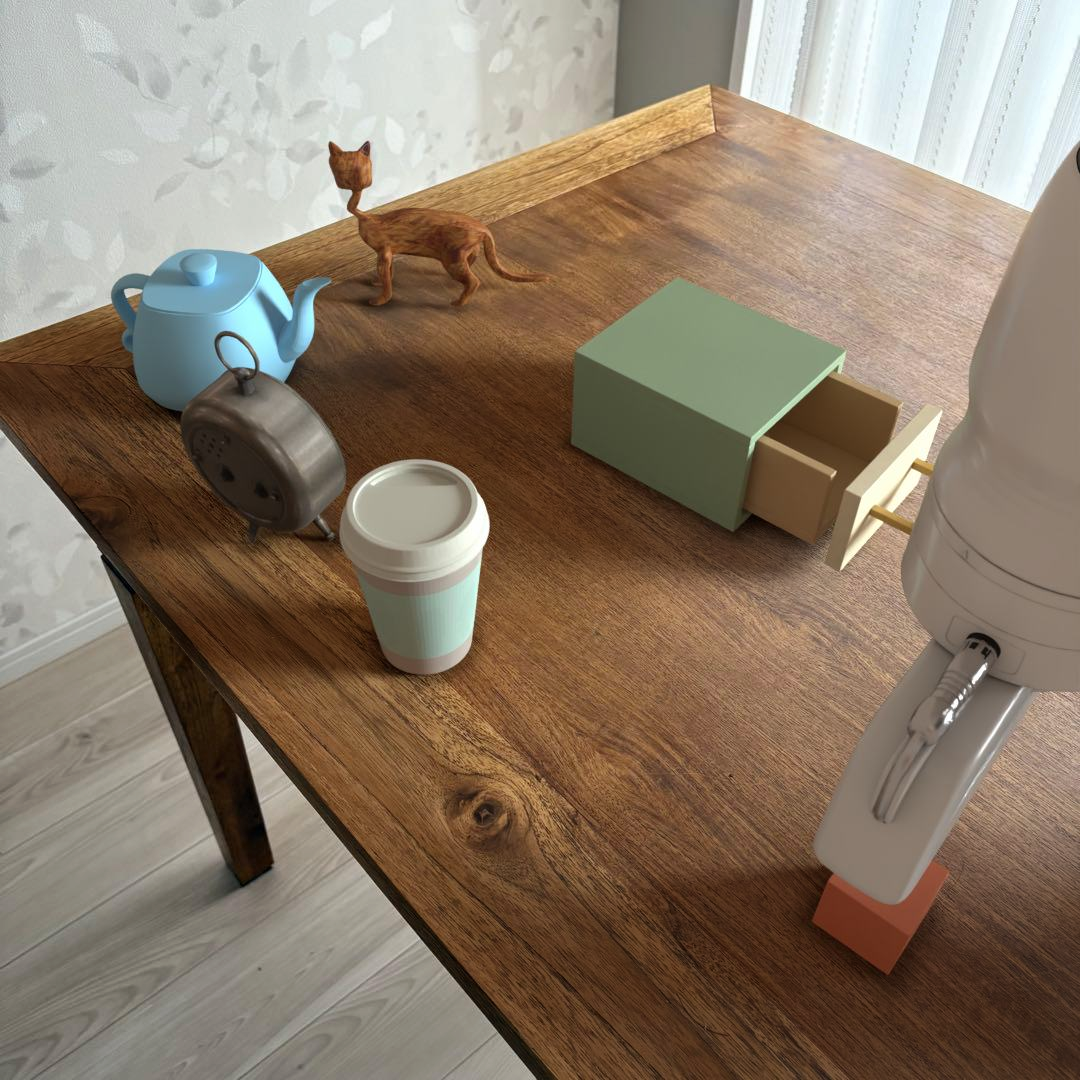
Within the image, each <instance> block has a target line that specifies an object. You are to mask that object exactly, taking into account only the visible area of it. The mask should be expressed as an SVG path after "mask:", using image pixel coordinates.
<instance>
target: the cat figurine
mask: <svg viewBox="0 0 1080 1080" xmlns="http://www.w3.org/2000/svg"><path fill="white" fill-rule="evenodd" d="M327 147H328V152H329V157H328V165H329V169H330V170H331V173H332V175H333V179H334V182H335V185H336V187H337V188H338V189H341V190H347V191H351V196H350V197H349V199H348V201H347V203H346V210H347V212H348V213H349V214H352V215H353V216H355V217H356V218H357V222H358V228H357V229H358V234H359V236H360V238H361V240H362V241H363V242H364V243H365V244H366V245H367V246H368V247H369V248H371V249H372V250H373V251H374V252H375V253H376V269H377V274H378V277H375V278H374V277H373V278H372V279H371V284H372V285H373V286H374V287H381V286H382V288H381V291H380V293H379V295H378V297H376V298H372V299H370V300H369V301H368V303H369V305H370V306H374V307H379V306H382V305H384V304H386V303H387V302H389V301H390V300H391V298H392V295H393V283H392V280H393V278H394V271H395V270H394V258H393V256H394V255H395V256H396V255H404V256H411V257H412V256H413V257H421V258H427V259H434V260H436V261H439V262H440V263H441V264H442V266H443V267H442V268H443V269H444V270H445V272H446V273H447V274H448V275H449V276H450V277H451V278H452V279H453V280H454V281H457V282H458V283H460V284H461V285H463V290H462V291H461V294H460V296H459V299H456V300H452V301H451V302H450V303H449V304H450V306H455V307H456V306H457V307H460V306H462V307H463V306H465V305H467V303H468V301H470V299H471V297H473V295H474V294H475V293H476V291H477V290H478V289H479V287H480V284H481V280H480V278H478V277H477V276H476V275H475V274H474V272H473V271H472V270H471V267H472V265H474V263H475V262H476V260H477V258H478V256H479V254H480V249H481V247H480V244H481V243H483V255H484V257H485V260H486V262H487V264H488V266H489V268H490V269H491V270H492V272H494V273H495V274H496V276H498V277H500V278H501V279H504V280H506V281H509V282H515V283H544V282H545V283H546V282H549V281H550V280H551V278H550V276H549V275H548V274H543V273H520V272H516V271H513V270H511V269H508V268H507V267H505V266H503V264H502V263H501V262H500V260H499V258H498V255H497V253H496V247H495V246H496V244H495V239H494V236H493V234H492V232H491V231H490V229H489V228H488V227H487V226H486V225H485V224H484V223H483V222H481V221H480V220H479V219H477V218H475V217H473V216H472V215H470V214H467V213H464V212H460V211H455V210H454V211H453V210H443V209H433V208H423V207H403V208H397V209H393V210H392V211H389V212H386V213H382V214H378V213H368V212H366V211H362V210H361V209H359V208H358V206H359V204H360V201H361V198H362V193H363V191H364V190H365V189H368V188H370V187H371V186H372V184H373V173H372V172H373V171H372V170H373V164H372V160H371V143H370V140H366V141H365V142H364V143H363V144H362V145H361V146H360V147H359V148H358V149H357V150H347V151H345V150H342V148H341V147H340V146H339V145H337V144H336V143H335V142H333V141H331V140H330V141H328V144H327Z"/></svg>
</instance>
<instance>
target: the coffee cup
mask: <svg viewBox="0 0 1080 1080" xmlns="http://www.w3.org/2000/svg"><path fill="white" fill-rule="evenodd" d="M490 526H491V524H490V516H489V514H488V511H487V506H486V503H485V501H484V499H483V498H482V497H481V494H480V493H479V492H478V491H477V488H476V485H475V484H474V483H473V482H472V480H471V479H470V477H468V476H467V475H466V474H465V473H464V472H462V471H461V470H459V469H458V468H456V467H454V466H452V465H450V464H446V463H444V462H441V461H436V460H431V459H423V458H422V459H419V458H418V459H417V458H415V459H412V458H411V459H403V460H397V461H393V462H389V463H387V464H383V465H381V466H379V467H376V468H374V469H372V470H371V471H368V473H366V474H365V475H363V476H362V477H361V478H360V479H358V480H357V482H356V483H354V485H353V486H352V488H351V489H350V491H349V494H348V496H347V498H346V502H345V505H344V507H343V509H342V512H341V516H340V521H339V541H340V544H341V547H342V550H343V552H344V554H345V556H347V558H348V559H349V560H350V561H351V562H352V565H353V568H354V571H355V575H356V577H357V580H358V583H359V586H360V589H361V593H362V595H363V598H364V601H365V604H366V607H367V610H368V613H369V616H370V619H371V622H372V625H373V628H374V632H375V634H376V636H377V640H378V642H379V646H380V649H381V651H382V653H383V656H384V657H385V659H386V660H387V661H388V662H389V663H390V664H391V665H392V666H393V667H395V668H396V669H399V670H400V671H403V672H405V673H409V674H413V675H422V676H423V675H424V676H425V675H427V676H428V675H432V674H433V675H434V674H439V673H443V672H445V671H448V670H450V669H451V668H453V667H455V666H456V665H458V664H459V663H460V662H461V661H463V660H464V658H465V657H466V656H467V654H468V652H469V651H470V649H471V645H472V643H473V634H474V625H475V618H476V609H477V601H478V592H479V584H480V583H479V582H480V574H481V567H482V559H483V551H484V550H483V548H484V547H485V545H486V543H487V540H488V537H489V534H490Z"/></svg>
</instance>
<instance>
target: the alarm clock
mask: <svg viewBox="0 0 1080 1080" xmlns="http://www.w3.org/2000/svg"><path fill="white" fill-rule="evenodd" d="M224 336H230V337H233V338H236V339H238V340H239V341H240V342H241V343H242V344H243V345H244V346H245V347H246V348H247V349H248V350H249V352H250V354H251V355H252V357H253V359H254V362H255V369H252V368H246V367H236V368H232V367H231V366H230V365H229V364H228V362H227V361H226V360H225V358H224V357H223V355H222V353H221V351H220V347H219V342H220V340H221V338H222V337H224ZM214 345H215V350H216V353H217V355H218V358H219V359H220V361H221V362H222V363H223V364H224V366H225V367H226V368H227V369H228V370H227V371H225V372H224V373H223V374H222V375H221V376H220V377H219V378H218V379H217V380H215V381H214V382H213V383H212V384H210V385H209V386H208V387H207V388H205V389H204V390H203V391H202V392H200V393H199V394H198V395H197V396H196V397H194V398H193V399H192V400H191V401H190V402H189V403H188V404H187V405H186V406H185V408H184V410H183V412H182V413H181V417H180V435H181V439H182V443H183V446H184V449H185V451H186V453H187V455H188V458H189V459H190V462H191V464H192V465H193V466H194V469H195V470H196V472H197V473H198V475H199V476H200V478H201V479H202V480H203V481H204V483H205V484H206V485H207V486H208V488H209V489H211V491H212V492H213V493H214V494H215V495H216V496H217V497H218V498H219V499H220V500H221V501H222V502H223V503H224V504H225V505H226V506H227V507H229V508H230V509H231V510H233V511H234V512H236V513H237V514H238V515H239V516H241V517H243V518H244V519H245V520H246V521H247V522H248V534H247V536H248V537H247V538H248V542H250V543H251V544H254V543H255V542H256V541H257V537H258V531H259V528H263V529H266V530H270V531H273V532H277V533H293V532H294V533H295V532H298V531H300V530H304V529H305V528H307V527H308V526H309V525H311V523H313V524H314V526H315V527H316V528H317V529H318V530H319V531H321V532H322V533H323V534H324V538H325V540H327V541H328V542H330V541H333V540H334V538H335V537H336V536H335V533H334V532H332V531H331V529H330V527H329V524H328V523H327V521H326V520H325V519H324V518H323V516H322V515H321V513H322V512H323V511H324V510H325V509H326V508H328V507H329V506H330V504H332V503H333V501H334V500H336V499H337V498H338V497H339V496H340V495H341V494H342V492H343V491H344V489H345V485H346V481H347V470H346V464H345V459H344V456H343V453H342V450H341V448H340V446H339V444H338V442H337V440H336V438H335V436H334V435H333V433H332V431H331V430H330V428H329V427H328V425H327V424H326V422H325V421H324V420H323V418H322V417H321V416H320V414H319V413H318V412H317V410H315V409H314V408H313V406H312V405H311V404H310V403H308V401H307V400H306V399H305V398H303V397H302V396H301V395H300V394H299V393H298V392H297V391H296V390H295V389H294V388H292V387H291V386H289V385H288V384H287V383H285V382H284V383H283V382H282V381H280V380H279V379H277V378H275V377H273V376H271V375H269V374H267V373H265V372H262V371H259V370H260V369H259V365H260V362H259V359H258V356H257V354H256V352H255V350H254V349H253V347H252V346H251V345H250V343H249V342H248V341H247V340H246V339H245V338H243V337H242V336H240V335H239V334H237V333H235V332H232V331H222V332H220V333H219V334H218V335H217V336H216V337H215V340H214Z"/></svg>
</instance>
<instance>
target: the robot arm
mask: <svg viewBox="0 0 1080 1080" xmlns="http://www.w3.org/2000/svg"><path fill="white" fill-rule="evenodd" d="M968 370H969V372H968V405H967V409H966V412H965V414H964V416H963V418H962V419H961V421H959V423H958V424H957V426H956V427H955V428H954V429H952V431H951V432H950V434H949V436H948V437H947V438H946V439H945V440H944V443H943V444H942V446H941V447H940V450H939V452H938V454H937V457H936V459H935V462H934V464H933V465H934V468H933V471H932V474H931V477H929V480H928V482H927V485H926V488H925V491H924V494H923V497H922V500H921V502H920V505H919V508H918V511H917V513H916V517H915V519H914V522H913V523H914V525H913V528H912V531H911V534H910V535H908V536H909V537H908V540H907V542H906V545H905V548H904V551H903V554H902V558H901V563H900V579H901V580H900V581H901V585H902V591H903V593H904V596H905V599H906V601H907V603H908V606H909V608H910V609H911V611H912V613H913V614H914V616H915V618H916V619H917V621H918V622H919V624H920V625H921V626H922V627H923V628H924V631H926V632H927V633H928V634H929V636H931V637H932V638H931V639H930V641H928V643H927V644H926V646H925V647H924V648H923V649H922V651H921V652H920V653H919V655H918V656H917V658H915V660H914V661H913V663H912V664H911V665H910V667H909V668H908V670H907V671H905V673H904V674H903V676H902V677H901V678H900V680H899V681H898V683H897V684H896V686H895V687H894V688H893V689H892V690H891V692H890V693H889V695H888V696H887V697H886V699H885V700H884V701H883V703H882V704H881V705H880V706H879V708H878V709H877V711H876V712H875V714H874V715H873V716H872V718H871V719H870V721H869V723H868V724H867V726H866V727H865V729H864V731H863V732H862V734H861V736H860V738H859V740H858V741H857V743H856V745H855V746H854V748H853V750H852V751H851V754H850V755H849V758H848V760H847V762H846V765H845V766H844V768H843V771H842V772H841V775H840V777H839V780H838V782H837V785H836V786H835V789H834V790H833V793H832V795H831V797H830V800H829V802H828V803H827V804H828V805H827V807H826V809H825V812H824V813H823V816H822V819H821V821H820V823H819V825H818V828H817V830H816V833H815V835H814V838H813V842H812V843H813V844H812V851H813V853H814V855H815V857H816V858H817V859H818V861H819V862H820V863H821V864H822V865H823V866H825V868H827V869H828V870H829V871H831V872H832V874H833V873H835V874H836V875H837V876H839V877H840V878H841V879H843V880H844V881H846V882H847V883H849V884H850V885H852V886H853V887H855V888H856V889H858V890H859V891H861V892H863V893H864V894H866V895H868V896H869V897H871V898H873V899H875V900H877V901H879V902H881V903H884V904H887V905H895V904H898V903H900V902H902V901H903V900H905V899H906V898H907V897H908V895H909V894H910V893H911V892H912V890H913V889H914V887H915V886H916V884H917V883H918V881H919V880H920V878H921V877H922V875H923V873H924V872H925V870H926V869H927V867H928V866H929V864H930V863H931V861H932V860H933V859H934V858H935V857H936V855H937V853H938V852H939V850H940V848H941V847H942V845H943V844H944V842H945V841H946V839H947V838H948V836H949V835H950V833H951V832H952V830H953V828H954V826H956V824H957V822H958V821H959V820H960V817H961V816H962V814H963V813H964V811H965V810H966V808H967V806H968V804H969V803H970V801H972V799H973V797H974V796H975V794H976V793H977V791H978V789H979V788H980V786H981V784H982V783H983V782H984V780H985V778H986V776H987V775H988V773H989V772H990V770H991V769H992V767H993V766H994V764H995V762H996V761H997V759H998V758H999V756H1000V755H1001V753H1002V752H1003V750H1004V749H1005V747H1006V745H1007V744H1008V743H1009V741H1010V739H1011V738H1012V736H1013V734H1014V733H1015V732H1016V730H1017V728H1018V726H1019V725H1020V723H1021V722H1022V721H1023V719H1024V717H1025V716H1026V715H1027V713H1028V711H1029V709H1030V708H1031V706H1032V705H1033V703H1034V702H1035V700H1036V699H1037V697H1038V696H1039V694H1040V693H1050V692H1051V693H1052V692H1058V693H1061V692H1062V693H1074V692H1075V693H1076V692H1080V139H1078V141H1077V142H1076V143H1075V144H1074V145H1073V147H1072V148H1071V149H1070V151H1069V152H1068V153H1067V155H1066V156H1065V157H1064V158H1063V160H1062V161H1061V162H1060V164H1059V166H1058V167H1057V168H1056V170H1055V172H1054V173H1053V175H1052V177H1051V178H1050V179H1049V181H1048V183H1047V184H1046V186H1045V188H1044V190H1043V191H1042V193H1041V195H1040V197H1039V198H1038V200H1037V201H1036V204H1035V206H1034V208H1033V209H1032V211H1031V213H1030V215H1029V217H1028V220H1027V221H1026V223H1025V225H1024V227H1023V230H1022V231H1021V233H1020V236H1019V239H1018V241H1017V242H1016V245H1015V247H1014V249H1013V251H1012V254H1011V256H1010V257H1009V260H1008V263H1007V265H1006V267H1005V270H1004V273H1003V275H1002V277H1001V279H1000V282H999V284H998V287H997V289H996V291H995V294H994V296H993V299H992V302H991V304H990V307H989V310H988V312H987V314H986V317H985V320H984V323H983V326H982V329H981V331H980V333H979V337H978V339H977V342H976V344H975V347H974V350H973V353H972V356H971V361H970V364H969V369H968Z"/></svg>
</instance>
